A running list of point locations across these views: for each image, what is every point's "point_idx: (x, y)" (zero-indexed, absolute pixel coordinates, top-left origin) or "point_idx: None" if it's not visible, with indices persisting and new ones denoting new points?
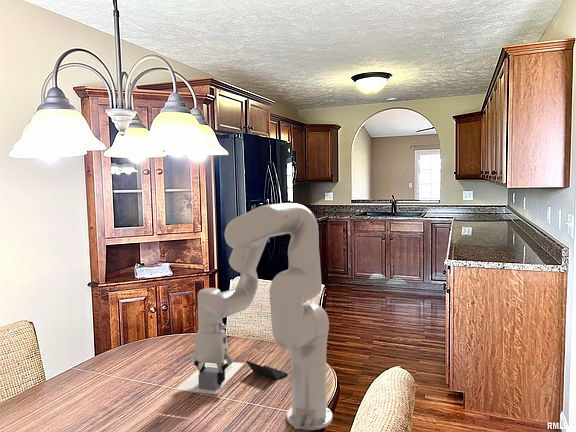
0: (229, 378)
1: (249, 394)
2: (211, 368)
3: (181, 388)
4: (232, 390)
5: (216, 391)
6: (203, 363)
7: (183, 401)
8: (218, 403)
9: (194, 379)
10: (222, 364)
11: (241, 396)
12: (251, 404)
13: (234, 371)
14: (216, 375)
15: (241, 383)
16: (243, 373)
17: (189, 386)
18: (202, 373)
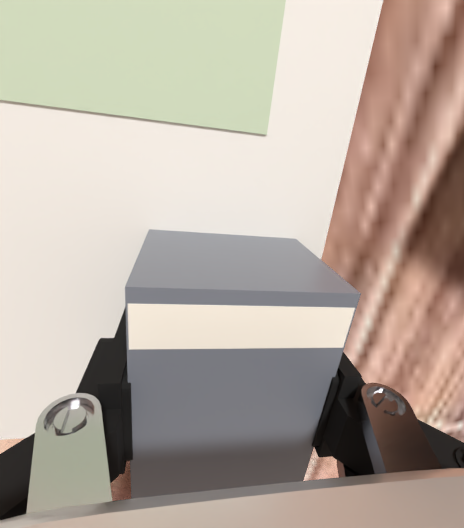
0: (327, 212)
1: (457, 366)
2: (205, 376)
3: (17, 424)
4: (364, 349)
5: None
6: (80, 472)
7: (128, 497)
8: (313, 464)
9: (16, 284)
10: (398, 459)
11: (416, 391)
12: (458, 434)
13: (354, 33)
14: (303, 458)
15: (416, 253)
16: (434, 49)
17: (58, 390)
18: (157, 485)
